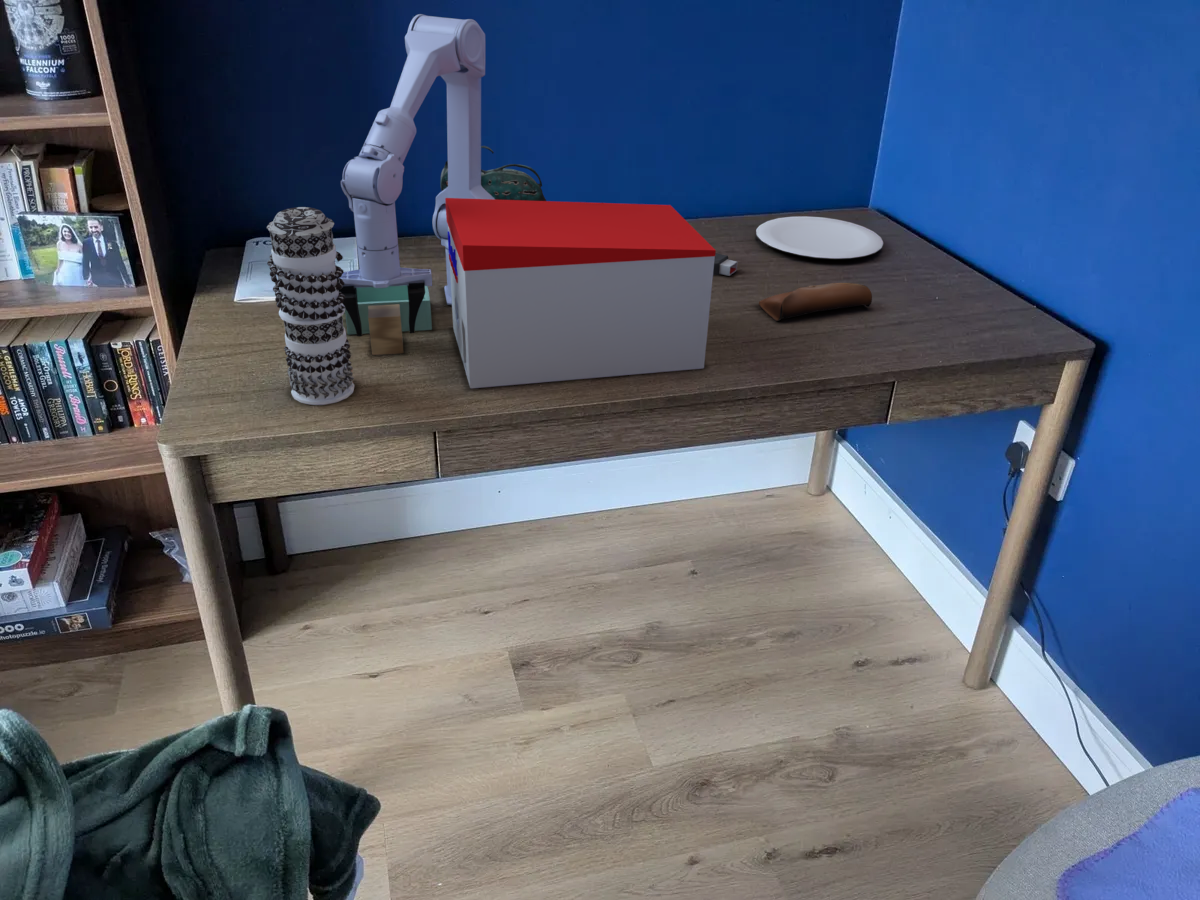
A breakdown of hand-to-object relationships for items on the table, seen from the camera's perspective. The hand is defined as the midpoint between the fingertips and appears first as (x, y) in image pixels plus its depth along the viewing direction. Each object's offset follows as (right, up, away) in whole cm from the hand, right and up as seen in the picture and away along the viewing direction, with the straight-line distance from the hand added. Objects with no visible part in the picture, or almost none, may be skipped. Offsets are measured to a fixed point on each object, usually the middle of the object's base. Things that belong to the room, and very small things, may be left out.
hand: (385, 332), depth 143 cm
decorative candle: (-6, -10, -11) cm, 16 cm away
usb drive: (+51, +16, +35) cm, 64 cm away
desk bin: (-2, +3, +11) cm, 11 cm away
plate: (+76, +23, +48) cm, 93 cm away
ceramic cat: (+12, +20, +38) cm, 45 cm away
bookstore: (+28, -2, +3) cm, 28 cm away
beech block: (0, -2, +1) cm, 3 cm away
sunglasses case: (+68, +6, +20) cm, 71 cm away
